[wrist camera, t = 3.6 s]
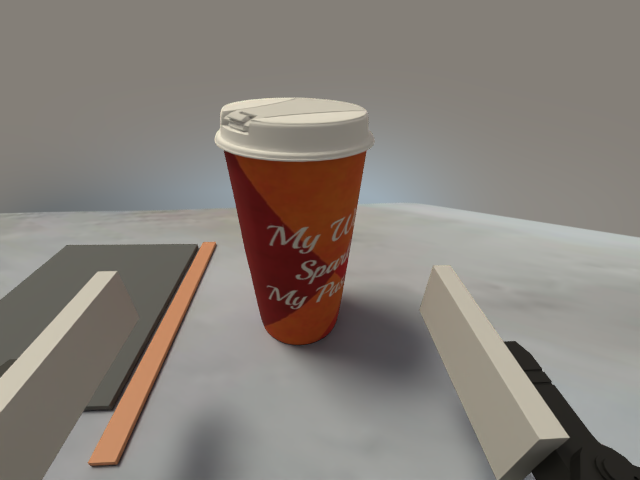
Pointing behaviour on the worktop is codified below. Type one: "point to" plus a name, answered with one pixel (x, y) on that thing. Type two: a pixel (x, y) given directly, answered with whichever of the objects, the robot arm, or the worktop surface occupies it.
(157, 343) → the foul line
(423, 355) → the worktop surface
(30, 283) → the mat
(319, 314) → the paper cup
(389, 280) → the worktop surface
